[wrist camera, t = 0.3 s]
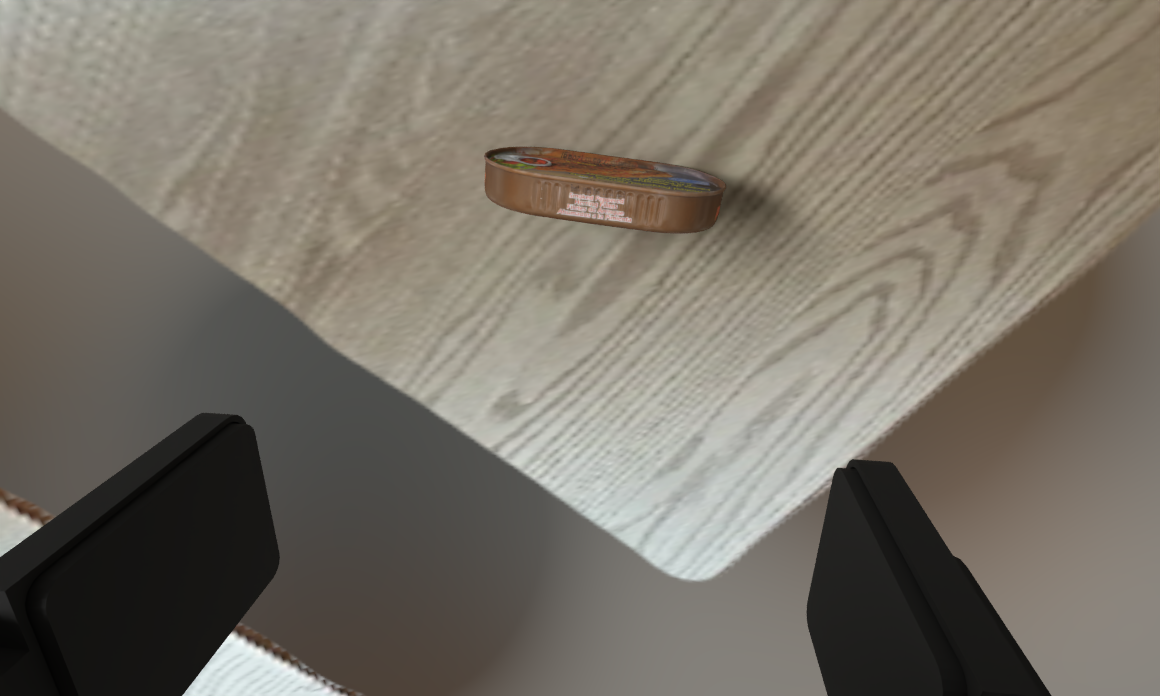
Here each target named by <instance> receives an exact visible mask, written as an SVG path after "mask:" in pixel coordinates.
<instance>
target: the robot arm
mask: <svg viewBox="0 0 1160 696" xmlns="http://www.w3.org/2000/svg"><path fill="white" fill-rule="evenodd" d="M279 558H280V557H279V550H278V544H277V540H276V535H275V530H274V525H273V520H272V515H271V510H270V505H269V500H268V495H267V491H266V485H265V480H264V475H263V470H262V466H261V461H260V456H259V451H258V446H257V441H256V436H255V432H254V429H253V428H252V427H251V426H250V425H247V424H246V422H245V421H244V419H243V418H242V417H240V416H238V415H230V414H215V413H201V414H199V415H197V416H195V417H194V418H193V419H192V420H190V421H189V422H187V423H186V424H184V425H183V426H182V427H180V428H179V429H177V430H176V431H175V432H173V433H172V434H170V435H169V436H168V437H166V438H165V439H163V440H162V441H161V442H159V443H158V444H157V445H155V446H154V447H153V448H151V449H150V450H148V451H147V452H145V453H144V454H143V455H141V456H140V457H139V458H137V459H136V460H134V461H133V462H132V463H130V464H129V465H127V466H126V467H125V468H123V469H122V470H121V471H119V472H118V473H116V474H115V475H114V476H112V477H111V478H110V479H108V480H107V481H105V482H104V483H102V484H101V485H100V486H98V487H97V488H96V489H94V490H93V491H91V492H90V493H89V494H87V495H86V496H85V497H83V498H82V499H80V500H79V501H78V502H77V503H75V504H73V505H72V506H71V507H69V508H68V509H67V510H65V511H64V512H62V513H61V514H59V515H58V516H57V517H55V518H54V519H53V520H51V521H50V522H48V523H47V524H46V525H44V526H43V527H41V528H40V529H39V530H37V531H36V532H34V533H33V534H32V535H30V536H29V537H28V538H26V539H25V540H23V541H22V542H21V543H19V544H18V545H16V546H15V547H14V548H12V549H11V550H10V551H8V552H7V553H5V554H4V555H3V556H1V557H0V696H182V695H183V694H184V693H185V691H186V690H187V689H188V687H189V686H190V685H191V684H192V682H193V681H194V680H195V678H196V677H197V676H198V674H199V673H200V672H201V671H202V669H203V668H204V667H205V665H206V664H207V663H208V662H209V660H210V659H211V658H212V656H213V655H214V654H215V652H216V651H217V650H218V649H219V647H220V646H221V645H222V643H223V642H224V641H225V640H226V638H227V637H228V636H229V634H230V633H231V632H232V630H233V629H234V628H235V627H236V625H237V624H238V623H239V621H240V620H241V618H243V616H244V615H245V614H246V612H247V611H248V610H249V608H250V607H251V606H252V605H253V603H254V602H255V601H256V599H257V598H258V597H259V595H260V594H261V593H262V592H263V590H264V589H265V588H266V586H267V585H268V584H269V582H270V581H271V580H272V579H273V577H274V575H275V574H276V571H277V569H278V565H279ZM807 623H808V628H809V632H810V635H811V639H812V643H813V646H814V649H815V653H816V656H817V660H818V663H819V667H820V670H821V674H822V677H823V681H824V684H825V687H826V691H827V695H828V696H1051V694H1050V693H1049V691H1048V690H1047V688H1046V687H1045V685H1044V684H1043V682H1042V681H1041V679H1040V677H1039V676H1038V674H1037V673H1036V672H1035V670H1034V668H1033V667H1032V665H1031V664H1030V662H1029V661H1028V659H1027V658H1026V656H1025V655H1024V653H1023V652H1022V650H1021V649H1020V647H1019V646H1018V644H1017V643H1016V641H1015V639H1014V638H1013V636H1012V635H1011V633H1010V632H1009V630H1008V629H1007V627H1006V626H1005V624H1004V623H1003V621H1002V620H1001V618H1000V616H999V615H998V614H997V612H996V610H995V609H994V607H993V606H992V604H991V603H990V601H989V600H988V598H987V597H986V595H985V594H984V592H983V591H982V589H981V588H980V586H979V584H978V583H977V581H976V580H975V578H974V577H973V576H972V574H971V572H970V571H969V569H968V568H967V567H966V565H965V564H964V563H963V562H962V561H961V560H960V559H959V558H957V557H955V556H953V555H952V553H951V552H950V550H949V549H948V547H947V546H946V544H945V543H944V541H943V540H942V538H941V536H940V535H939V533H938V532H937V530H936V529H935V527H934V525H933V524H932V523H931V521H930V519H929V518H928V516H927V514H926V513H925V511H924V510H923V508H922V507H921V505H920V504H919V502H918V500H917V499H916V497H915V496H914V494H913V493H912V491H911V490H910V488H909V487H908V485H907V483H906V482H905V480H904V479H903V477H902V476H901V474H900V473H899V471H898V469H897V468H896V466H895V465H894V464H893V463H891V462H882V461H868V460H854V459H852V460H851V461H849V463H848V465H847V467H846V468H837V469H836V471H835V472H834V476H833V480H832V485H831V490H830V495H829V500H828V505H827V510H826V515H825V519H824V524H823V529H822V534H821V539H820V544H819V548H818V553H817V558H816V563H815V568H814V573H813V578H812V583H811V587H810V592H809V597H808V603H807Z"/></svg>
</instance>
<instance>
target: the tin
mask: <svg viewBox="0 0 1160 696" xmlns="http://www.w3.org/2000/svg"><path fill="white" fill-rule="evenodd" d="M484 157H485V160H486V168H485V192H486V195H487V197H488V198H489V199H490V200H491V201H492V202H494V203H496V204H497V205H499V206H501V207H504V208H507V209H510V210H513V211H517V212H521V213H525V214H530V215H536V216H542V217H549V218H555V219H562V220H569V221H576V222H583V223H590V224H598V225H605V226H612V227H620V228H628V229H636V230H643V231H651V232H661V233H694V232H700V231H704V230H707V229H709V228H711V227H712V226H713V225H714V223H715V222H716V220H717V218H718V214H719V209H720V205H721V200H722V195H723V192H724V191H725V189H726V184H725V183H724V182H723V181H722V180H720V179H718V178H716V177H714V176H711V175H709V174H706V173H704V172H701V171H698V170H695V169H691V168H686V167H682V166H677V165H670V164H664V163H658V162H651V161H643V160H635V159H628V158H620V157H613V156H606V155H598V154H591V153H584V152H576V151H569V150H561V149H553V148H540V147H507V148H499V149H494V150H490V151H488V152H487V153H485V156H484Z"/></svg>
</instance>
